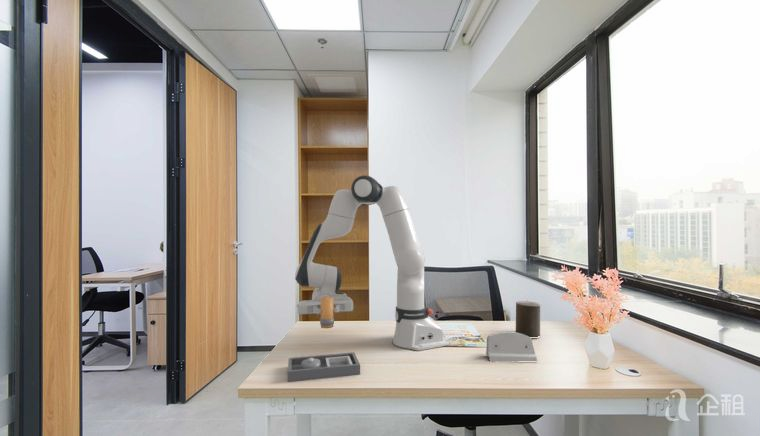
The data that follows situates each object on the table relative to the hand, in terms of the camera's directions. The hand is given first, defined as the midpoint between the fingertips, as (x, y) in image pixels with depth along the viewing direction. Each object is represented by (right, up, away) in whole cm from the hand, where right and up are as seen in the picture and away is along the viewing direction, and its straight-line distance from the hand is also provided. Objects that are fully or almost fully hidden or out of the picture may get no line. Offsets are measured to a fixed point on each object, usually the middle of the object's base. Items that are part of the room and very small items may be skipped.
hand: (327, 311), depth 121 cm
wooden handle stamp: (0, -6, +1) cm, 6 cm away
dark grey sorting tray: (0, -17, -9) cm, 19 cm away
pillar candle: (+82, -18, +27) cm, 88 cm away
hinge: (+65, -17, +2) cm, 67 cm away
